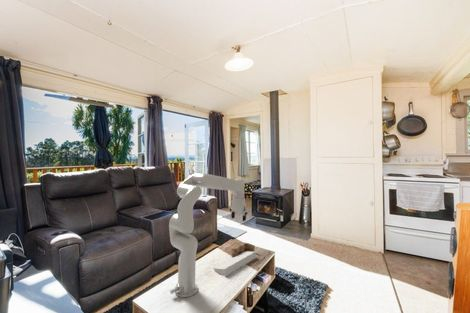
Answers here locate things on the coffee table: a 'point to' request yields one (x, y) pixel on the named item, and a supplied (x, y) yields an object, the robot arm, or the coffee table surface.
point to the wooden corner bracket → (242, 249)
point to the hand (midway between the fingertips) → (238, 219)
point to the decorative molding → (235, 263)
